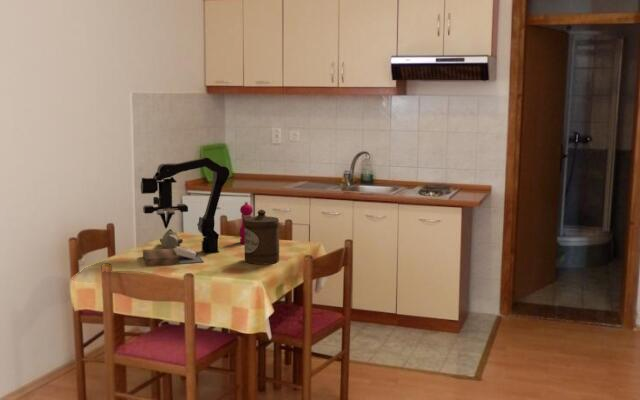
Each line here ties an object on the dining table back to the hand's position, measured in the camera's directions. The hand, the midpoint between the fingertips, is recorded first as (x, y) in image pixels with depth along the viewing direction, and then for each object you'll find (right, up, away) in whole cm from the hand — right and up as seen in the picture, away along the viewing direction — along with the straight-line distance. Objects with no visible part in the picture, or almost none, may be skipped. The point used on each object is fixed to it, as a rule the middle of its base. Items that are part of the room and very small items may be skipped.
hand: (165, 228), depth 323 cm
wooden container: (+43, -14, -7) cm, 46 cm away
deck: (0, -13, -9) cm, 16 cm away
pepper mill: (+32, -8, +30) cm, 45 cm away
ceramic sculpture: (-2, -10, +18) cm, 21 cm away
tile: (+9, -11, -7) cm, 16 cm away
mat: (+11, -13, -6) cm, 18 cm away
